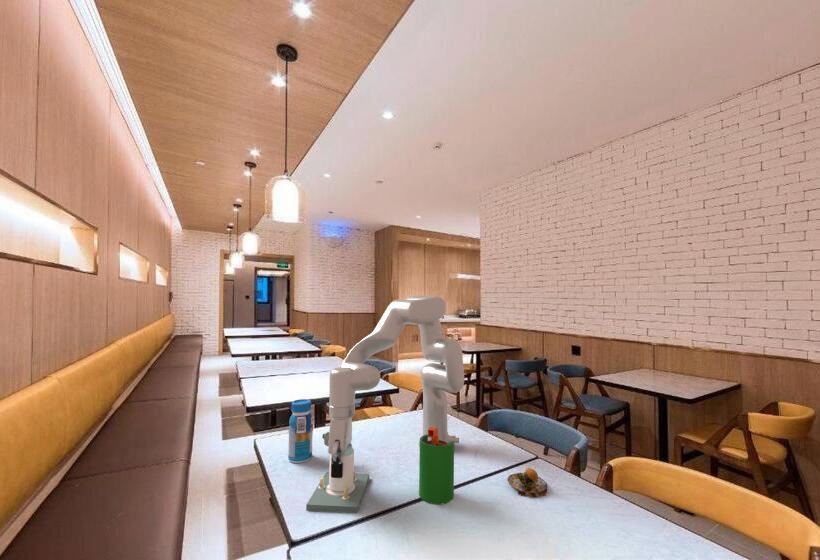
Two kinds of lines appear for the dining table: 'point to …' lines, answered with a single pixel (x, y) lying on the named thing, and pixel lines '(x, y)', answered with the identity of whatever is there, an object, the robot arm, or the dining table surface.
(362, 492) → the pin board
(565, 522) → the dining table surface
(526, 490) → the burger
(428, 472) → the motor
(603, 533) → the dining table surface
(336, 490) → the can
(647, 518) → the dining table surface
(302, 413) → the beverage bottle
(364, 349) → the robot arm
